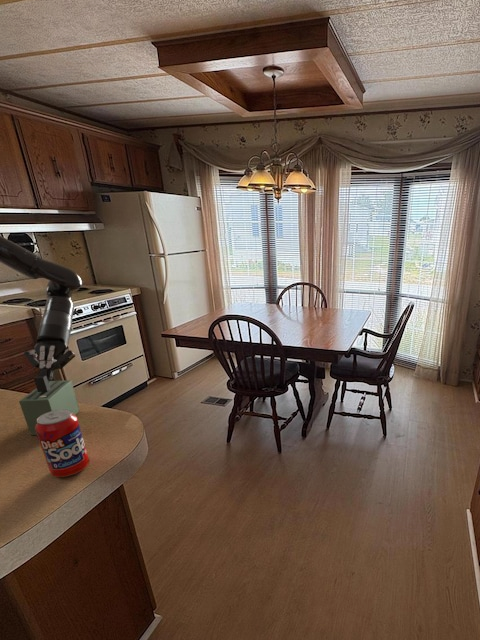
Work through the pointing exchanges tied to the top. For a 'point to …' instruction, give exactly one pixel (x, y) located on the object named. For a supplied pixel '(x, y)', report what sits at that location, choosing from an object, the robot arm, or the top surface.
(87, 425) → the top surface
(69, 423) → the soda can
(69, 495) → the top surface
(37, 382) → the slider
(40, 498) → the top surface
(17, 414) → the top surface
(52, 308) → the robot arm
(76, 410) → the toaster
